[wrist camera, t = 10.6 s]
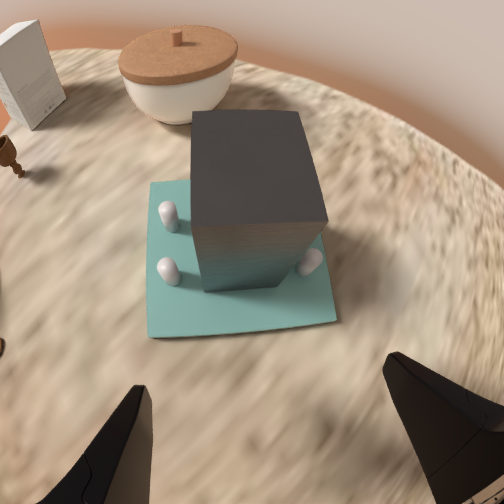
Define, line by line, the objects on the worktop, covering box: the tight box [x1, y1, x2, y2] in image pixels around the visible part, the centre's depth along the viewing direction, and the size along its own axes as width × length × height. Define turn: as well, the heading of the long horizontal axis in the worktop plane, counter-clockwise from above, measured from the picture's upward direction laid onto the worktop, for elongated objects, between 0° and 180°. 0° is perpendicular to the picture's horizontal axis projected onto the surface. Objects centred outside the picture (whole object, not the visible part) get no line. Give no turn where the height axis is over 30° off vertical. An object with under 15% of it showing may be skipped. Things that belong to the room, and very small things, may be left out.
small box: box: [0, 20, 66, 130], centre depth 19 cm, size 8×6×13 cm
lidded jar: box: [118, 25, 238, 125], centre depth 22 cm, size 11×11×9 cm
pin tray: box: [146, 180, 337, 338], centre depth 20 cm, size 12×13×4 cm
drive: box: [190, 110, 328, 293], centre depth 16 cm, size 6×5×10 cm
